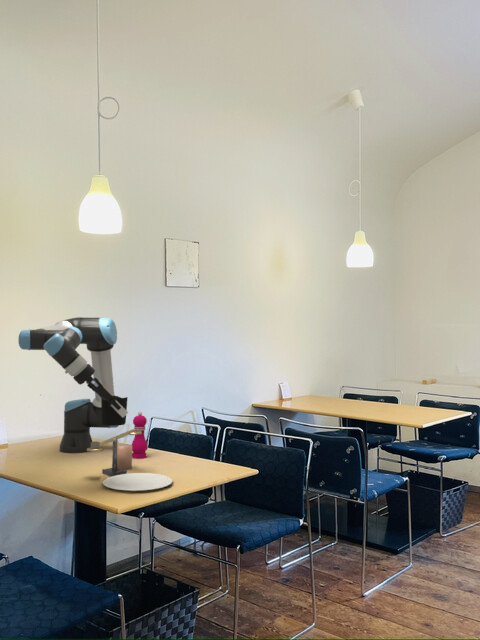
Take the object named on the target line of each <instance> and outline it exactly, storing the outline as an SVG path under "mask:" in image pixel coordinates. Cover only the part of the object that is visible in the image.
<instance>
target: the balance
mask: <svg viewBox="0 0 480 640" xmlns="http://www.w3.org/2000/svg"><path fill="white" fill-rule="evenodd" d="M139 434H142V432H141V431H135V429H134V428H132V429H130V430H127V431H125V432H123V433H121V434H117V435H115V436H113V437H111V438H108V439H106V440H103V441H101V442H100V441H97V440H96V441H92V442H91V447H90V448H87V452H91V453H93V452H94V453H96V452H103V451H104V447H103V446H105V445H107V444H109V443H111V442H112V456H111V457H112V461H111V462H112V463H111V465H112V466H111V467H110V468H109V467H108V468H104V469H103V468H102V471H101V472H102V474H103V475H106V476H108V477H112V476H116V475H122V474H128V470H123V469H120V468H117V444H118V443H119V442H118V440H119V439H121V438H124V437H126V436H128V435H130V436H135V435H139Z"/></svg>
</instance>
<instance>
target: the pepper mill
mask: <svg viewBox="0 0 480 640" xmlns="http://www.w3.org/2000/svg"><path fill="white" fill-rule="evenodd" d="M147 423H148V421H147V418H146V416H145V415H143V413H142V412H141V411H139V412H138V413H137V415H135V416H134V417H133V420H132V424H133V425H134V427H133V429H135V431H141V432H142V434H139V435H134V438H133V440H132V442H131V445H132V459H136V460H138V459H141V460H142V459H145V458H147V452H146V451H148V447H149V445H148V443H147V439H146V437H145V430H146V425H147Z"/></svg>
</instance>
